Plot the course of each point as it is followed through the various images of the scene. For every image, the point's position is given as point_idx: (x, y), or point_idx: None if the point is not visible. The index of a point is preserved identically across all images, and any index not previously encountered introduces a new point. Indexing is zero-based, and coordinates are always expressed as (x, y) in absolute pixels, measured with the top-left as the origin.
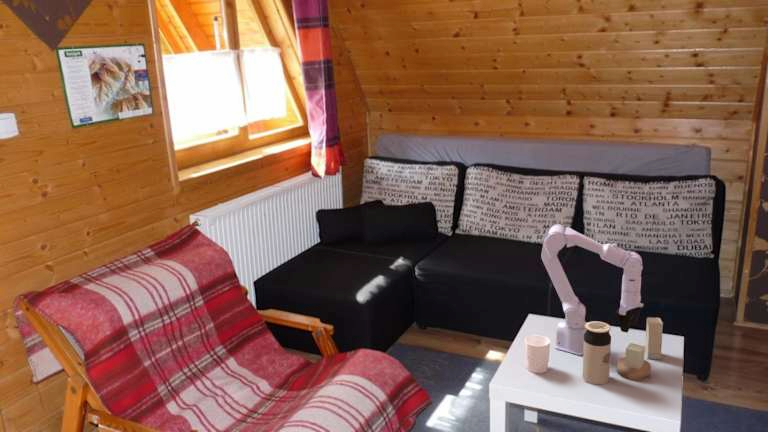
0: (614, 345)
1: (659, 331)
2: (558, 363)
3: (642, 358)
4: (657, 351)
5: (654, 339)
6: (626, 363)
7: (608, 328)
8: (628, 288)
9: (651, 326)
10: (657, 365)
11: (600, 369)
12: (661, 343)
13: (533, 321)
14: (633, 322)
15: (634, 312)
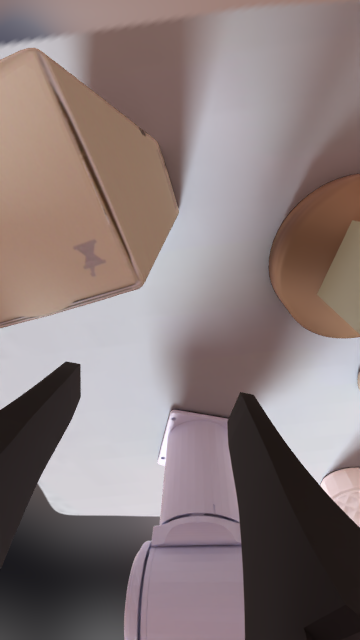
0: (116, 349)
1: (117, 137)
2: (308, 453)
3: None
4: (158, 160)
5: (154, 188)
6: None
7: None
8: None
9: (142, 246)
10: (234, 149)
11: None
12: (136, 126)
13: (89, 512)
14: (74, 385)
15: (16, 472)
